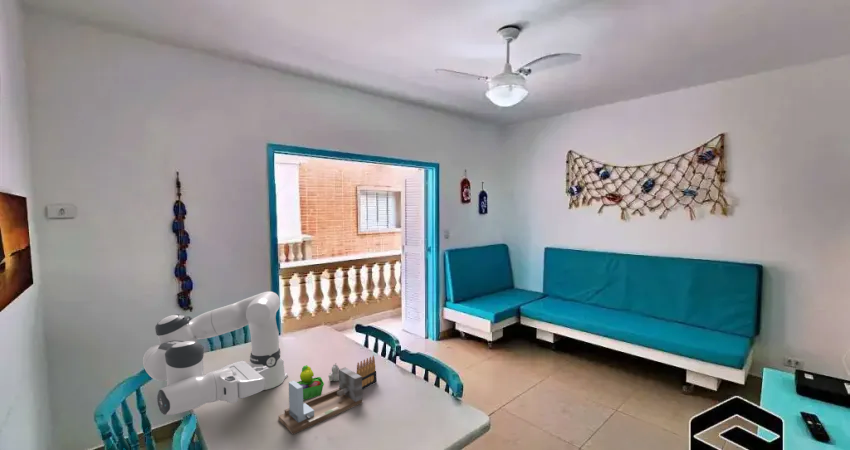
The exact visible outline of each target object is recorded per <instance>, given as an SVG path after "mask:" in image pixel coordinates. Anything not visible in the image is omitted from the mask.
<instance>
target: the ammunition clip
mask: <svg viewBox="0 0 850 450" xmlns="http://www.w3.org/2000/svg"><path fill="white" fill-rule="evenodd" d="M375 360H376V359H375V356H374V355H372V356H370V357H369V358H368V357H367V358H366V359H363V360H361V361H360V363H359V361H358V362H357V364H356V372H355V373H356V374H358V375H360V376H362V391H363V390H365V389H367V388H369V387H370V386H373V385H374V384H376V383H377V382H378V381H377V370H376V361H375Z"/></svg>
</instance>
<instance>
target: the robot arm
mask: <svg viewBox="0 0 850 450" xmlns="http://www.w3.org/2000/svg"><path fill="white" fill-rule="evenodd" d="M280 307H281V299H280V296H279V295H278V294H277V292H274V291H263V292H261V293H257V294H255V295H252V296H249V297H247V298H244V299H241V300H238V301H237V302H234V303H230V304H228V305H225V306H221V307H218V308H215V309H212V310H208V311H206V312H203V313H201V314H198V315H197V316H195V317H194V318H192V317H191V316H186V315H184V314H177V313H176V314H172V315H168V316H166V317H164V318H162V319H161V320H159V321H158V322H157V324H156V325H155V328H154V330H155V335H156V336H157V337H158V341H159V343H158V344H154V345H152V346H150V347H149V348H148V349H147V350H146V351H145V352H144V354H143V358H142V363H143V364H142V365H143V368H144V370H145V372H146V374H148V376H149V377H151V379H152V380H155V381H158V382H164V381H166V383H167V385H166V386H164V387H161V388H160V389H159V390H158V392H157V398H156V399H157V400H156V402H157V405H158V409H159V411H160V413H161V414H162V415H163V416H169V415H170V416H171V415H177V414H181V413H184V412H188V411H192V410H195V409H198V408H200V407H201V406H203V405H205V404H209V403H215V402H218V401H220V402H222V401H224V402H227V403H230V404H234V403H236V402H238V401H239V399H244V398H245V399H246V398H248V397H250V396H251V397H252V396H253V395H256V394H258V393H260V392H262V391H264V390H265V391H266V390H270V389H274V388H276V387H278V386H280V385H281V384H282V383H283V382H284V381H285V380H286V378H288V376H289V374H288V373H287V372H286V371H285V363H284V359H283V358H282V357H281V348H280V337H279V335H280V334H279V333H280V332H279V328H278V325H277V319H276V316H277V312H278V310H279V309H280ZM246 326H248V328H249V333H250V343H251V344H250V346H251V351H250V354H249V355H250V356H249V361H248V362H246V361H244V360H238V361H235V362H233V363H229V364H227V365H224V366H223V367H222V368H219V369H216V370H215V369H214V370H212V371H209V372H207V373H206V374H205V370H204V369H205V368H204V367H205V366H204V354H205V353H204V352H205V350H204V349H205V347H204V345H202V343H200V342H198V340H202V339H203V340H204V339H210V338H214V337H218V336H221V335H224V334H227V333H230V332H234V331H236V330H239V329H242V328H243V327H246Z"/></svg>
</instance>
